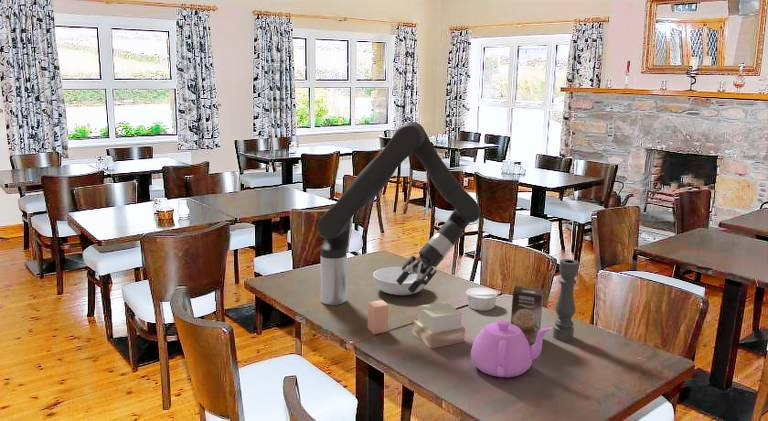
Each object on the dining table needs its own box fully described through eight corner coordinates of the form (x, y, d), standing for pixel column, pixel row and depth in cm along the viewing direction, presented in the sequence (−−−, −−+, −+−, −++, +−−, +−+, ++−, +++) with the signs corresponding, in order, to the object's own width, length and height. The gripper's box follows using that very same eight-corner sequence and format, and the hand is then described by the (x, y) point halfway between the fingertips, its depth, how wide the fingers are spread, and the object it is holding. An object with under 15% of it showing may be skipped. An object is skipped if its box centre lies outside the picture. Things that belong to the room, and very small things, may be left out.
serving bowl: (437, 289, 241) (437, 272, 239) (409, 305, 224) (410, 287, 222) (391, 279, 252) (391, 262, 250) (361, 293, 234) (362, 276, 233)
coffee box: (508, 340, 195) (511, 291, 192) (511, 332, 201) (514, 285, 198) (538, 344, 193) (542, 295, 189) (540, 336, 198) (544, 288, 195)
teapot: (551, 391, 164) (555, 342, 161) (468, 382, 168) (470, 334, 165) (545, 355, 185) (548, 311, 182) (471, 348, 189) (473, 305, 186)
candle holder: (562, 342, 194) (569, 265, 189) (548, 335, 200) (554, 260, 194) (577, 339, 197) (584, 263, 192) (563, 331, 203) (569, 257, 197)
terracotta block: (367, 328, 203) (367, 301, 201) (381, 325, 205) (382, 299, 203) (373, 333, 198) (374, 307, 196) (388, 331, 200) (388, 305, 198)
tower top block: (417, 320, 198) (417, 305, 197) (445, 316, 201) (445, 301, 200) (431, 332, 189) (432, 317, 188) (460, 328, 192) (461, 312, 191)
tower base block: (412, 334, 199) (412, 319, 198) (444, 328, 204) (445, 314, 203) (430, 349, 189) (430, 334, 188) (464, 343, 194) (464, 328, 193)
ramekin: (482, 314, 216) (483, 300, 215) (458, 305, 224) (459, 291, 223) (503, 307, 223) (504, 293, 222) (479, 298, 232) (479, 285, 230)
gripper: (418, 237, 210) (387, 273, 207) (440, 248, 197) (407, 287, 195) (432, 250, 213) (401, 287, 211) (454, 262, 200) (421, 301, 198)
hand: (404, 287), depth 203 cm, fingers open, 8 cm apart
